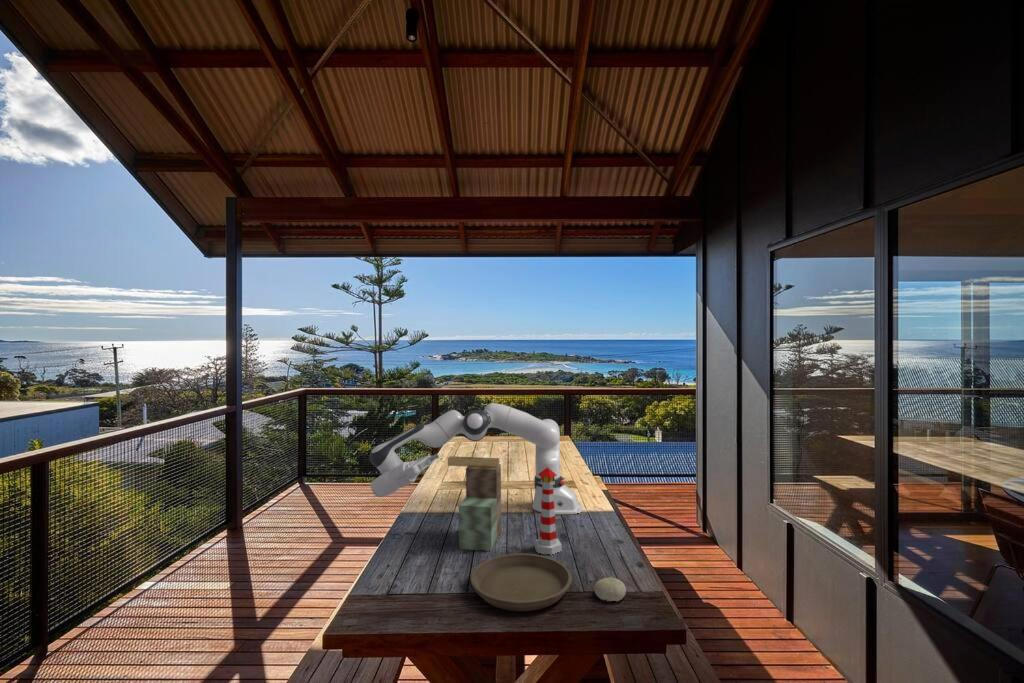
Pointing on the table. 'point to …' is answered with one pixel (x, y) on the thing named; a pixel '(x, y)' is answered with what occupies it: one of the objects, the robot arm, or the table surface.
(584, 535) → the table surface
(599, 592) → the sea urchin shell
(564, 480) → the robot arm
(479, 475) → the two-tone block tower
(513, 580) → the plant saucer
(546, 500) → the decorative lighthouse
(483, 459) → the brass bar
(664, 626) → the table surface
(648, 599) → the table surface
